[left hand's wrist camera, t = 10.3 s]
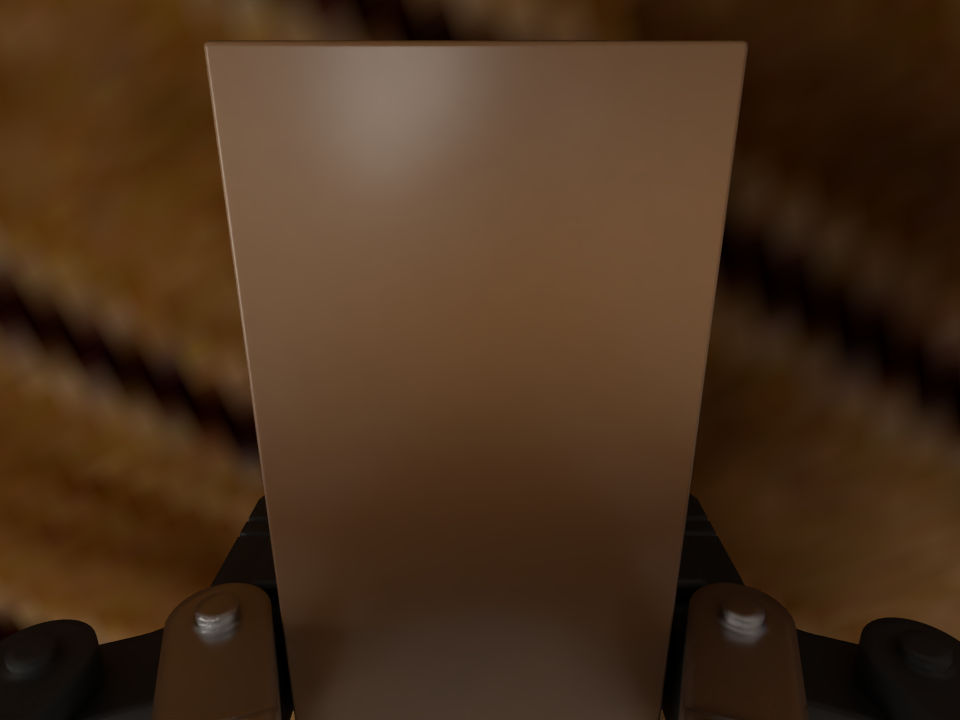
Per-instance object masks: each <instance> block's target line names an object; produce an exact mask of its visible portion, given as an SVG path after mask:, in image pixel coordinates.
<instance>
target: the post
mask: <svg viewBox="0 0 960 720" xmlns="http://www.w3.org/2000/svg"><path fill="white" fill-rule="evenodd" d="M204 52H205V59H206V66H207V74H208V81H209V88H210V96H211V103H212V110H213V118H214V125H215V133H216V140H217V147H218V155H219V162H220V169H221V177H222V184H223V192H224V199H225V206H226V214H227V221H228V228H229V236H230V243H231V250H232V258H233V265H234V273H235V280H236V287H237V295H238V302H239V309H240V317H241V324H242V332H243V339H244V346H245V354H246V361H247V368H248V376H249V383H250V390H251V398H252V405H253V413H254V420H255V427H256V435H257V442H258V449H259V457H260V464H261V471H262V479H263V486H264V494H265V501H266V508H267V516H268V523H269V530H270V538H271V545H272V553H273V560H274V567H275V575H276V582H277V589H278V597H279V604H280V611H281V619H282V626H283V634H284V641H285V648H286V656H287V663H288V670H289V678H290V685H291V692H292V700H293V707H294V715H295V720H660V713H661V706H662V698H663V690H664V683H665V675H666V668H667V660H668V652H669V645H670V637H671V630H672V622H673V614H674V607H675V599H676V592H677V584H678V576H679V569H680V561H681V554H682V546H683V538H684V531H685V523H686V515H687V508H688V500H689V493H690V485H691V477H692V470H693V462H694V455H695V447H696V439H697V432H698V424H699V417H700V409H701V401H702V394H703V386H704V379H705V371H706V363H707V356H708V348H709V341H710V333H711V325H712V318H713V310H714V303H715V295H716V287H717V280H718V272H719V265H720V257H721V249H722V242H723V234H724V226H725V219H726V211H727V204H728V196H729V188H730V181H731V173H732V166H733V158H734V150H735V143H736V135H737V128H738V120H739V112H740V105H741V97H742V90H743V82H744V74H745V67H746V59H747V52H748V44H747V42H745V41H743V40H387V41H207V42H205V44H204Z"/></svg>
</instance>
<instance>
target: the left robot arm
mask: <svg viewBox="0 0 960 720" xmlns="http://www.w3.org/2000/svg"><path fill="white" fill-rule="evenodd" d="M661 710H663V712H664V716H665V719H666V720H960V641H958V640H957V639H955V638H953V637H952V636H950V635H948V634H947V633H945V632H943V631H941V630H939V629H937V628H934V627H932V626H929V625H927V624H924V623H921V622H917V621H914V620H909V619H903V618H881V619H877V620H874V621H871V622H870V623H868V624H867V625H866V626H865V627H864V628H863V631H862V633H861V637H860V641H859V645H858V644H854V643H850V642H845V641H841V640H837V639H832V638H828V637H824V636H819V635H815V634H811V633H808V632H804V631H801V630H798V629H796V626H795V622H794V620H793V618H792V616H791V615H790V614H789V612H788V611H787V610H786V609H785V608H784V607H783V606H782V605H781V604H780V603H779V602H778V601H776V600H775V599H774V598H772V597H770V596H769V595H767V594H765V593H763V592H761V591H759V590H757V589H754V588H751V587H748V586H745V585H744V583H743V581H742V579H741V578H740V576H739V574H738V572H737V570H736V568H735V567H734V565H733V563H732V561H731V559H730V558H729V556H728V554H727V552H726V550H725V549H724V547H723V545H722V543H721V541H720V539H719V538H718V536H716V532H715V530H714V529H713V527H712V525H711V523H710V521H707V516H706V514H705V512H704V511H703V509H702V507H701V505H700V503H699V501H698V500H697V499H696V498H695V497H694V496H693V495H691V494H690V493H689V500H688V508H687V515H686V523H685V531H684V538H683V546H682V554H681V561H680V569H679V576H678V584H677V592H676V599H675V607H674V614H673V622H672V630H671V637H670V645H669V652H668V660H667V668H666V675H665V683H664V690H663V698H662V706H661ZM293 711H294V707H293V700H292V692H291V685H290V678H289V670H288V663H287V656H286V648H285V641H284V634H283V626H282V619H281V611H280V604H279V597H278V589H277V582H276V575H275V567H274V560H273V553H272V545H271V538H270V530H269V523H268V516H267V508H266V501H265V496H263V497H262V498H261V499H259V501H258V503H257V504H256V506H255V508H254V510H253V512H252V513H251V515H250V517H249V522H246V524H245V526H244V528H243V529H242V531H241V533H240V537H238V538H237V540H236V542H235V544H234V545H233V547H232V549H231V551H230V553H229V554H228V556H227V558H226V560H225V562H224V563H223V565H222V567H221V569H220V570H219V572H218V574H217V576H216V578H215V579H214V581H213V583H212V585H211V586H210V587H209V588H206V589H203V590H201V591H199V592H197V593H195V594H193V595H191V596H190V597H188V598H186V599H185V600H184V601H182V602H181V603H180V604H179V605H178V606H177V607H176V608H175V609H174V610H173V611H172V612H171V614H170V615H169V617H168V618H167V620H166V623H165V626H164V628H162V629H159V630H157V631H154V632H151V633H147V634H144V635H140V636H136V637H131V638H127V639H123V640H118V641H114V642H110V643H105V644H101V645H99V644H98V640H97V636H96V633H95V631H94V629H93V628H92V627H91V626H90V625H88V624H86V623H84V622H81V621H77V620H54V621H49V622H44V623H40V624H37V625H34V626H31V627H28V628H26V629H23V630H21V631H19V632H17V633H15V634H13V635H11V636H9V637H7V638H6V639H4V640H2V641H1V642H0V720H290V718H291V715H292V712H293Z"/></svg>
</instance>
